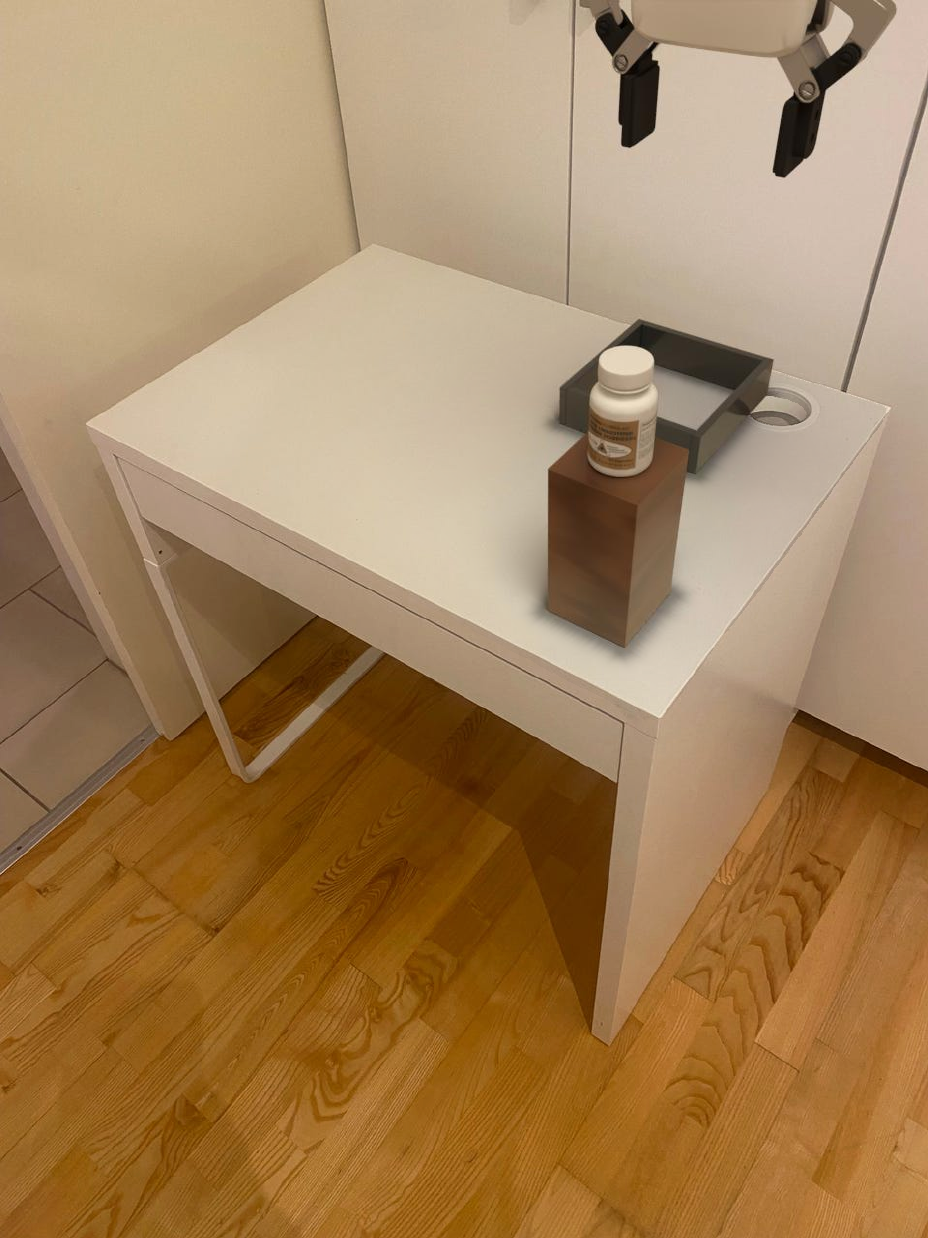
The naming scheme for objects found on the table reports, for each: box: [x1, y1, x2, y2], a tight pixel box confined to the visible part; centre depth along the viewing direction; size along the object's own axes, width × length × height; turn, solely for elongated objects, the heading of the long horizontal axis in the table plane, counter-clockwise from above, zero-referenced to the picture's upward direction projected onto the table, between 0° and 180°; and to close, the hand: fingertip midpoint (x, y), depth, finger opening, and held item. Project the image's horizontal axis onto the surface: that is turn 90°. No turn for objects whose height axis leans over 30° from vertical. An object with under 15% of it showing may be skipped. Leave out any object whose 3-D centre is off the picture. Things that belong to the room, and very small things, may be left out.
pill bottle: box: [588, 346, 659, 477], centre depth 62 cm, size 4×4×8 cm
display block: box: [547, 432, 689, 648], centre depth 70 cm, size 7×7×14 cm
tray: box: [558, 318, 774, 475], centre depth 91 cm, size 15×15×4 cm
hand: (710, 153), depth 57 cm, fingers open, 9 cm apart
